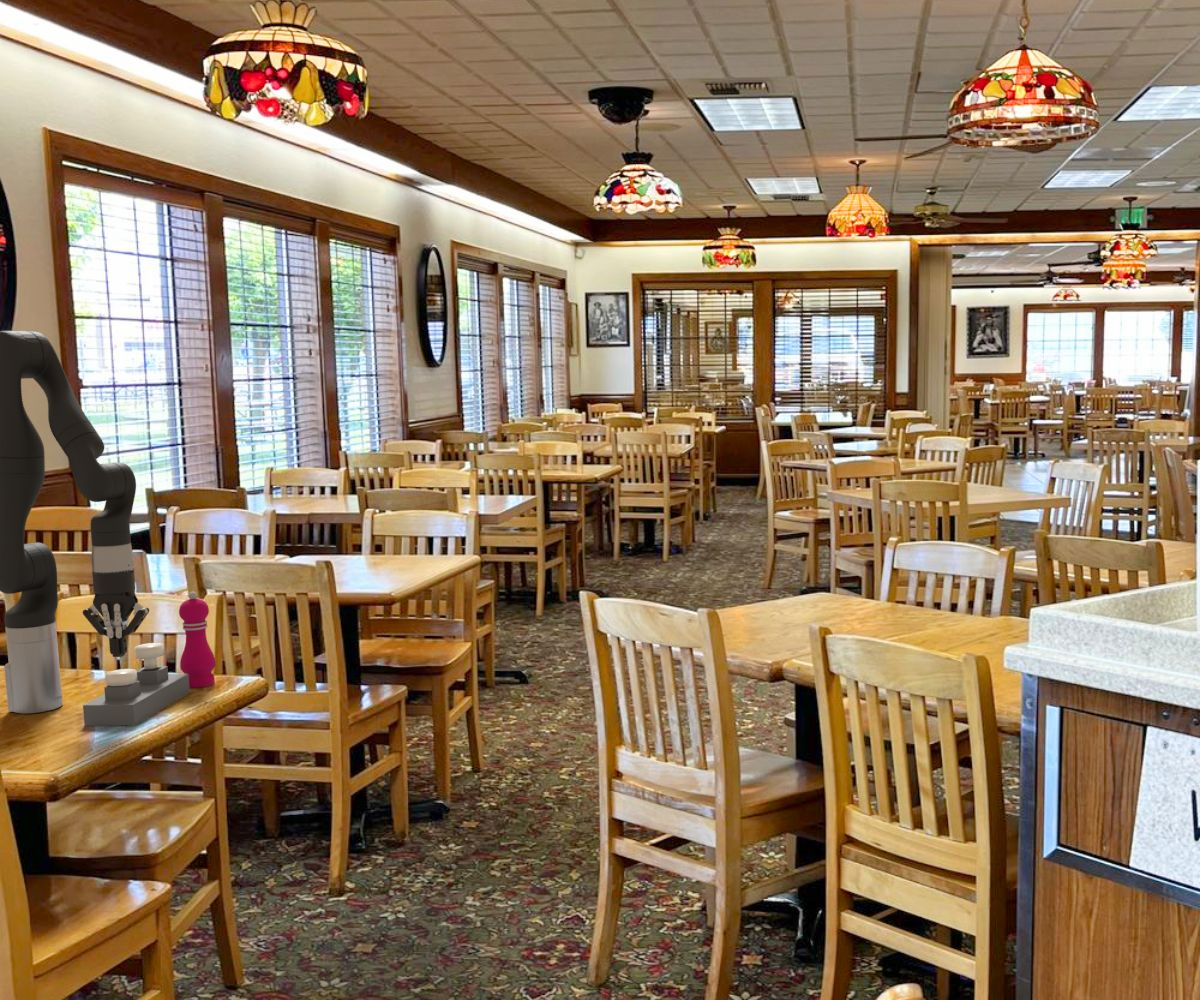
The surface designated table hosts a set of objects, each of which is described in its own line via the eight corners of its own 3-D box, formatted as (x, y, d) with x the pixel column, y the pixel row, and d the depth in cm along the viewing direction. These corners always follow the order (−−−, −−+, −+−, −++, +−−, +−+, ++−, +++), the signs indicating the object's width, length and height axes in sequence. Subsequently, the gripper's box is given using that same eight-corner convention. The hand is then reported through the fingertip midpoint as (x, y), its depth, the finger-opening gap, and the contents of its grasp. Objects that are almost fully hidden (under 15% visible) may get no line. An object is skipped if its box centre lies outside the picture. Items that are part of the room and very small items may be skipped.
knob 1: (102, 699, 245) (100, 676, 244) (116, 691, 250) (114, 669, 250) (129, 698, 244) (128, 675, 244) (143, 691, 250) (141, 668, 249)
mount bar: (84, 725, 243) (81, 692, 242) (143, 693, 266) (141, 662, 266) (134, 725, 241) (131, 691, 241) (189, 692, 265) (187, 661, 264)
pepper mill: (206, 688, 268) (199, 594, 266) (175, 688, 269) (167, 594, 267) (223, 680, 275) (216, 588, 273) (192, 679, 276) (185, 588, 274)
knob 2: (131, 671, 257) (129, 649, 256) (144, 664, 262) (142, 643, 262) (157, 670, 256) (155, 648, 255) (170, 664, 261) (168, 642, 261)
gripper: (70, 571, 242) (76, 660, 244) (136, 570, 240) (142, 661, 242) (90, 564, 249) (96, 651, 251) (154, 564, 248) (160, 651, 250)
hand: (119, 656), depth 247 cm, fingers closed
